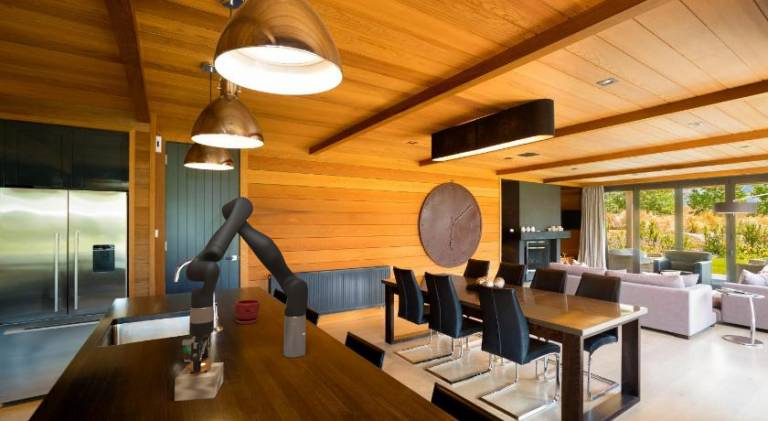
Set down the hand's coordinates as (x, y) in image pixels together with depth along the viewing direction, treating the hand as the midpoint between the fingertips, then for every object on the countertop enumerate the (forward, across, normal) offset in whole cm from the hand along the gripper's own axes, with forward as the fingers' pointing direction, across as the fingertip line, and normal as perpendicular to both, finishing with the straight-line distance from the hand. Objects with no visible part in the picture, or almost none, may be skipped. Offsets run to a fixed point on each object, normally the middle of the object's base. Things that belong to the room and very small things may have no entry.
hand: (200, 367), depth 124 cm
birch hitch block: (+8, 0, 0) cm, 8 cm away
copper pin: (+8, 0, 0) cm, 8 cm away
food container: (+8, +30, +9) cm, 32 cm away
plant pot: (+8, +86, -1) cm, 86 cm away
